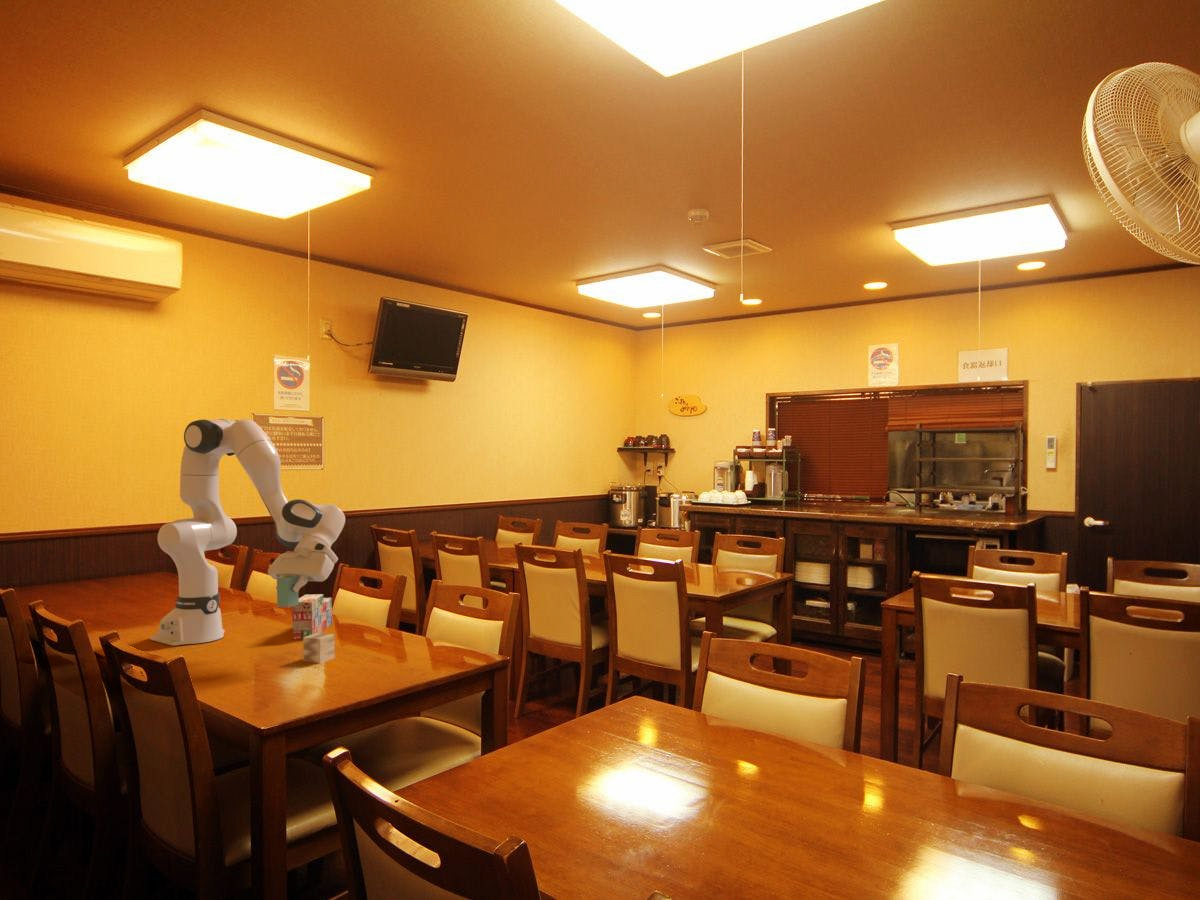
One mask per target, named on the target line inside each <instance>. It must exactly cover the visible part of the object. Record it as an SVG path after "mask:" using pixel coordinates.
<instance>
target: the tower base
mask: <svg viewBox="0 0 1200 900" xmlns="http://www.w3.org/2000/svg"><path fill="white" fill-rule="evenodd" d="M335 649H336V648H335V646H334V647H332V648H329V649H326V650H323V651H321V652H320V651H310V650H303V662H307V663H315V664H322V663H325V662H327V661H330V660H332V659H335V658H336V655H335V654H336V653H335V651H336V650H335Z"/></svg>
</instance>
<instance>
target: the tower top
mask: <svg viewBox="0 0 1200 900" xmlns="http://www.w3.org/2000/svg"><path fill="white" fill-rule="evenodd" d="M302 640H303V641H302V642H303V644H302V645H303V648H302V649H303V650H310V651H320V652H321V651H323V650H326V649H329V648H332V647H334V646H335V645H336V644H335V640H336V638H335V634H334V633H332V634H331V633H325V632H324V633H323V632H321V633H316V634H313V635H310V636H306V637H303V639H302Z"/></svg>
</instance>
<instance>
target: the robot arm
mask: <svg viewBox="0 0 1200 900" xmlns="http://www.w3.org/2000/svg"><path fill="white" fill-rule="evenodd" d="M183 440H184V443H185V444H184V445H185V446H184V448H183V452H182V457H181V462H180V473H179V474H180V475H179V481H180V482H179V497H180V500H181V501H182V502H183V503H184V504H186V505H187V506H189V507H190V509H191V511H192V513H193V517H191V518H181V519H180V518H179V519H176V520H173V521H170V522H167V523H165V524H163V525H162V526H161V527H160V529H159V530H158V532H157V543H158V544H157V545H158V546H159V548H160V549H161V551H163V553H166V554H167V555H168V556H170V558H171V559H172V560H173V562H174V564H175V567H176V569H177V574H178V593H179V594H178V596H177V597H174V598H172V600H173V601H172V602H175V605H174V608H173V609H172V610H171V611H170V612H168V613H167V614H165V616H163V617H162V619H160V621H159V625H158V632H157V633H155V634H153V635H151V636H150V637H149V640H150V641H153V642H158V643H161V644H164V645H165V644H166V645H168V646H180V645H181V646H182V645H191V644H192V645H193V644H203V643H209V642H213V641H218V640H220V639H222V638H223V637H224V636H225V635H224V634H225V631H226V630H225V629H224V628H223V621H222V620H223V619H222V612H221V611H222V610H221V608H220V607H219V605H220V602H221V601H220V600H221V597H220V593H219V570H218V568H217V567H216V566H215V565H213V564H212V563H209V562H208V560H207V559H206V556H205V552H207V551H213V550H219V549H222V548H224V547H227V546H229V545H231V544H233V543H234V542H235V539H236V537H237V535H238V534H237V533H238V532H237V531H238V530H237V525H236V523H235V522H234V520H233V519H231V518H230V517H229V516H228V515H227V513H226V512H225V511H224V508H223V506H222V502H221V499H220V498H221V497H220V460H221V458H222V457H223V456H225V455H227V456H228V457H232V456H235V457H236V459H237V460H238V462H239V463H240V465H241V467H242V468H243V469H244V471H245V473H246V474H247V476H248V477H249V478H250V481H251V482H252V484H253V486H254V487H255V489H256V490H257V492H258V494H259V496H260V498H261V499H262V502H263V504H264V506H265V507H266V509H267V511H268V513H269V515H270V517H271V518H272V520H273V523H274V527H275V536H276V539H277V541H278V542H279V543H280V544H281V545H282V546H284V547H287V548H292V549H293V551H292V550H287V551H285V552H284V553H282V554H280V555H278V556H277V557H276V559H275V560H274V561H273V562H272V563H271V565H270V566H269V568H268V569H267V574H268V575H269V576H270V577H271V578H272V579H274V580H277V578H281V577H286V576H292V577H298V582H297V583H296V584H293V585H292V587H291V588H290V590H291V591H292V592H298V593H299V591H300V589H301V588H302V587H304V586H305V585H306V584H307V583H308V582H320V583H321V582H324V581H326V580H327V579H328V578H329V576H330V574H331V573H332V572H333V570H334V567H335V564H336V563H337V562H338V560H339V558H338V556H337V555H336V554H335V552H334V551H333V550H332V545H333V544H334V543H335V542H336V540H337V539H338V538H339V536H340V534H341V533H342V531H343V529H344V527H345V524H346V515H345V514H344V512H343V511H342V509H341V508H339V507H338V506H337V505H335V504H331V503H327V504H315V503H313V502H308V501H307V500H304V499H292V500H289V501H288V499H287V497H286V495H285V494H284V492H283V491H284V490H283V488H282V483H281V471H282V470H281V468H282V466H281V465H282V463H281V456H280V454H279V452H278V449H277V448H276V446H275V444H274V443H273V442H272V439H270V436H268V434H267V433H266V432H265V431H264V430H263V429H262V427H261V426H260V425H259V424H258V423H256V421H254V420H252V419H248V418H245V419H240V420H239V419H238V420H237V419H236V420H232V419H225V418H224V419H223V418H218V419H198V420H193V421H191V422H190V423H188V425H187V426H186V427H185V429H184V432H183ZM275 589H276V590H277V586H276V587H275Z"/></svg>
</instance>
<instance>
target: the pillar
mask: <svg viewBox="0 0 1200 900" xmlns="http://www.w3.org/2000/svg"><path fill="white" fill-rule="evenodd" d="M298 581H299V580H298V577H292V576H286V577H281V578H277V579H276V587H277V589H276V603H277V604H276V607H280V608H281V607H282V608H289V607H290V608H291V607H293V606H295V605H299V600H298V599H299V591H298V592H292V591H291V590H290V588H291V587H292V585H293V584H296V583H297V582H298Z"/></svg>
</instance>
